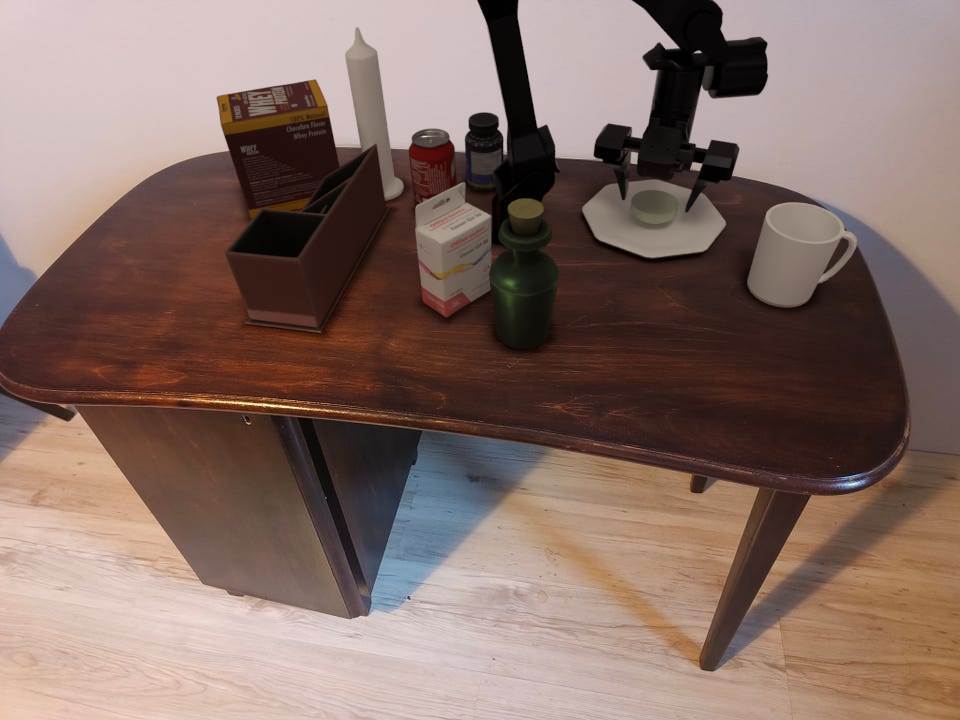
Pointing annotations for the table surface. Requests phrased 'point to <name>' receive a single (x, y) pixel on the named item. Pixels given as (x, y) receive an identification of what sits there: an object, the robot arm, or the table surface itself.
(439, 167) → the soda can
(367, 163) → the desk organizer
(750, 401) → the table surface
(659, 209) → the green cylinder
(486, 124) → the pill bottle
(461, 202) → the ink cartridge box
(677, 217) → the plate
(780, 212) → the mug
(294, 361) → the table surface
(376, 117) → the candle
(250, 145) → the supplement box
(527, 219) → the potion bottle
